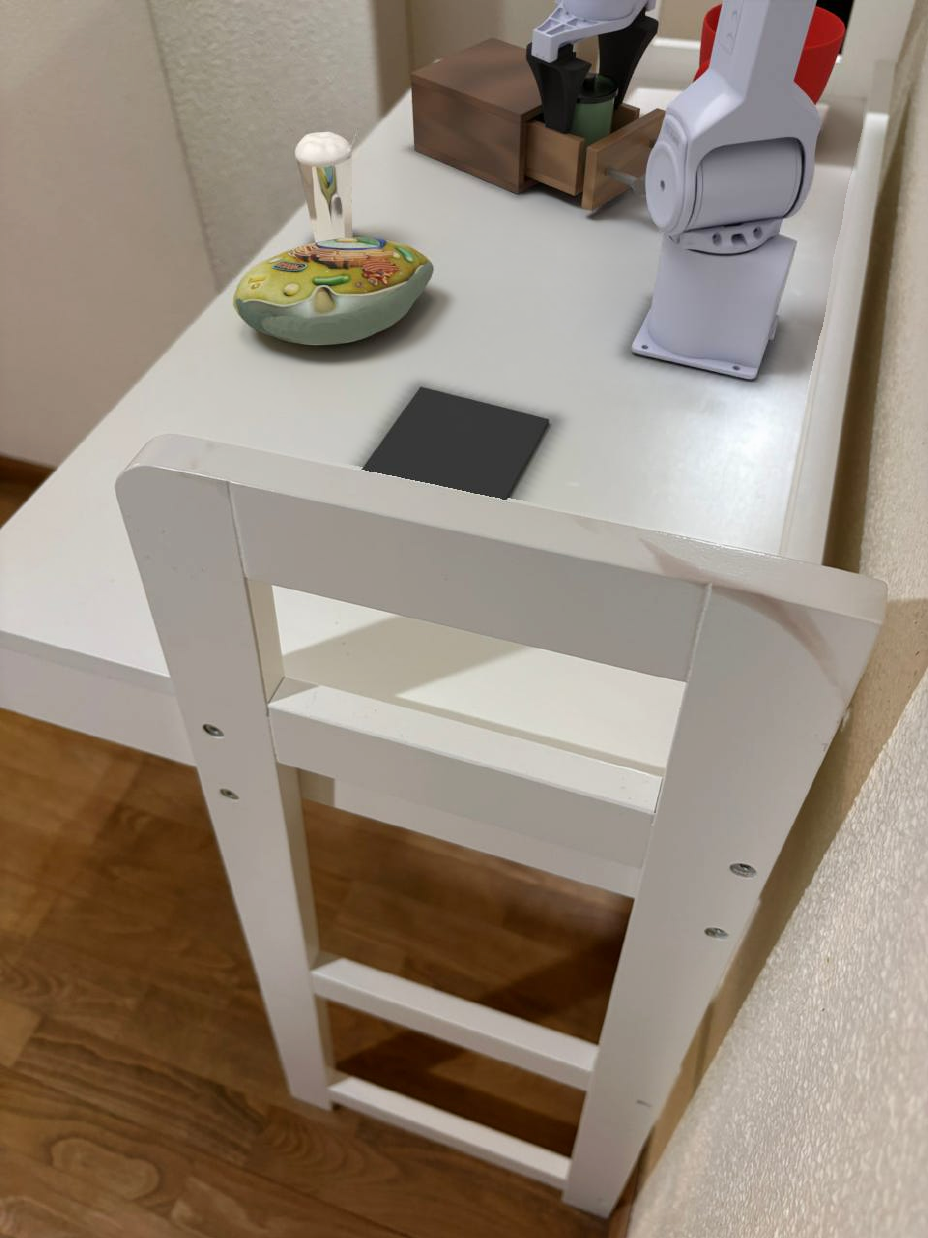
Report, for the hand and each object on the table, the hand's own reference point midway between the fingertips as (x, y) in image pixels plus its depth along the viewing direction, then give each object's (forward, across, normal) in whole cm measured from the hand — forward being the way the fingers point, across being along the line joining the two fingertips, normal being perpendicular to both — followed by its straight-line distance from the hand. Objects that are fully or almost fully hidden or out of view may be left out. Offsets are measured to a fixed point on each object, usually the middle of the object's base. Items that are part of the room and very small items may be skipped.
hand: (584, 119), depth 84 cm
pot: (+3, 0, 0) cm, 4 cm away
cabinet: (+6, 0, -9) cm, 11 cm away
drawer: (+4, 0, +2) cm, 5 cm away
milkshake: (+6, +23, -8) cm, 25 cm away
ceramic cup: (+6, -17, +7) cm, 19 cm away
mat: (+4, +36, +18) cm, 41 cm away
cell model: (+5, +31, 0) cm, 31 cm away
